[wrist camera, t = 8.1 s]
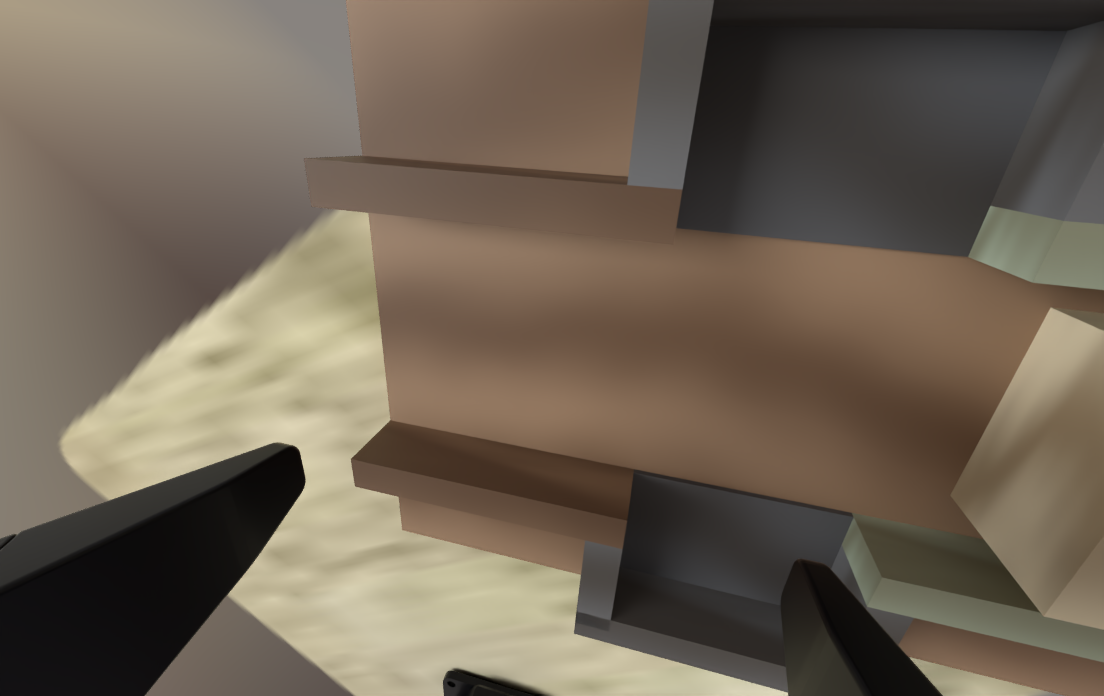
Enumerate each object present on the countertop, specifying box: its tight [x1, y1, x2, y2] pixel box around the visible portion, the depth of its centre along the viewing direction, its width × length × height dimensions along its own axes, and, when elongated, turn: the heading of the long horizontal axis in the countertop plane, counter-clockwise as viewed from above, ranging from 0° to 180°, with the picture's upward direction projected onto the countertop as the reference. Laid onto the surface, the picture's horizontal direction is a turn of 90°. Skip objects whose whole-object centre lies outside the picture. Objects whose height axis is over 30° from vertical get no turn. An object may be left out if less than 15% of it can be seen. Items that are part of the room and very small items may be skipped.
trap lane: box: [304, 0, 1104, 696], centre depth 13 cm, size 20×26×4 cm
